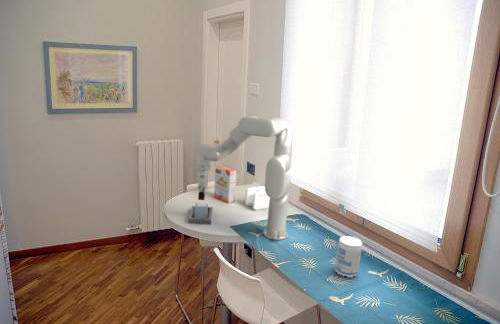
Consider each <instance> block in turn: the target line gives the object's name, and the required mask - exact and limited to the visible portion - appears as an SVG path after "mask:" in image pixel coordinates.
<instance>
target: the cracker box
mask: <svg viewBox="0 0 500 324" xmlns="http://www.w3.org/2000/svg"><path fill="white" fill-rule="evenodd" d="M237 172H238V170H236V169H233V168H230V167H227V166H225V165H217V166H215V171H214V173H215V175H214V176H215V177H214V194H213V195H214V196H213V197H214V198H215V199H218V200H220V201H222V202H224V203H225V204H226V203H227V204H232V203H235V200H236V188H237V187H236V185H237Z"/></svg>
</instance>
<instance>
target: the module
mask: <svg viewBox="0 0 500 324" xmlns="http://www.w3.org/2000/svg"><path fill="white" fill-rule="evenodd" d="M194 206H195V211H194V214H193V217H194V218H198V219H208V217H209V212H208V207H209V203H198V202H197V203H195V204H194Z"/></svg>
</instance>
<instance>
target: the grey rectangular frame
mask: <svg viewBox="0 0 500 324" xmlns="http://www.w3.org/2000/svg"><path fill="white" fill-rule="evenodd" d="M193 213H194V214H195V205H191V208H190V210H189V215H188V220H187V224H191V225H212V220H213V219H212V217H213V206H208V217H207V219H198V218H193V217H194V214H193Z"/></svg>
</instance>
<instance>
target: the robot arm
mask: <svg viewBox="0 0 500 324" xmlns="http://www.w3.org/2000/svg"><path fill="white" fill-rule="evenodd" d="M236 125H237V126H235V127H234V128H232V129H231V131H230V132H229V136H228V137H227V138H226V140H224V141H223V142H221V144H218V145H214V146H211V145H210V144H207V143H200V144H198V145H197V146H196V147H197V148H196V164H195V170H196V171H197V189H198V198H197V199H198V201H199V200H200V201H205V195H206V194H205V190H207V189H208V183H209V172H210V171H211V164H212V163H211V162H218V161H221V160H224V159H226V158H227V157H228V156H230V155H231V154H233V153H234V152H235V151H236V150H237V149H238V148H239V147H240V146H241V145H242V144H244V142H246V141H247V140H248V139H249V138H251V137H252V136H254V137H260V138H261V137H263V138H272V137H275V142H274V150H273V157H271V158H270V159H269V160H268V161H267V163H266V167H265V177H264V179H265V181H264V187H265V191H266V194H267V195H268V196H269V197H270V200H269V209H267V210H268V212H267V220H266V221H267V222H266V228H265V229H264V230H263V231H262V233H263V236H265V237H266V238H268V239H270V240H276V241H281V240H285V239H287V238H288V236H289V233H288V231H286V230H287V229H286V228H287V217H288V207H289V201H290V194H291V189H292V183H291V179H290V178H289V177H288V176H287V175H286V173H287V172H288V171H289V170H290V169H291V166H292V153H293V130H292V127H291V126H290V124H289V123H288V122H287V121H286V120H285V119H283V118H281V117H272V118H259V117H258V116H257V115H247V116H243V117H241V118H240V119H239V120H238V123H237V124H236Z"/></svg>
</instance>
